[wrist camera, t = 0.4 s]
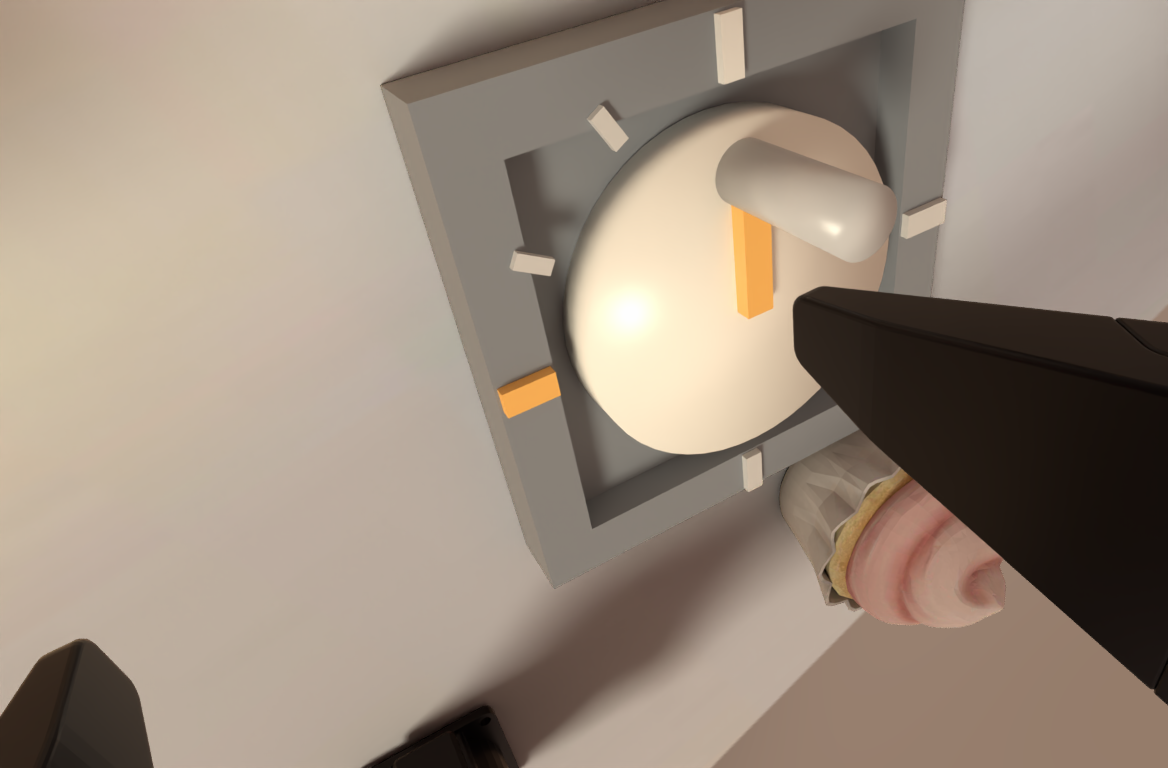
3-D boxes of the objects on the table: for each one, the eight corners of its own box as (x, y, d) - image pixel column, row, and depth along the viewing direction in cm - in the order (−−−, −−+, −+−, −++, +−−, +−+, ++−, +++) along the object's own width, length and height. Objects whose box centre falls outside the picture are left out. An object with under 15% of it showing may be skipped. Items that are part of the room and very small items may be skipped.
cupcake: (910, 358, 36) (1115, 477, 29) (889, 500, 42) (1058, 631, 34) (749, 432, 33) (929, 585, 26) (749, 573, 39) (899, 735, 31)
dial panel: (875, 371, 35) (926, 402, 33) (526, 545, 30) (558, 596, 28) (906, -72, 25) (984, -71, 23) (380, 85, 20) (412, 107, 18)
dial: (846, 355, 32) (984, 441, 27) (595, 477, 29) (697, 602, 23) (859, 55, 25) (1050, 93, 20) (527, 171, 22) (651, 253, 16)
